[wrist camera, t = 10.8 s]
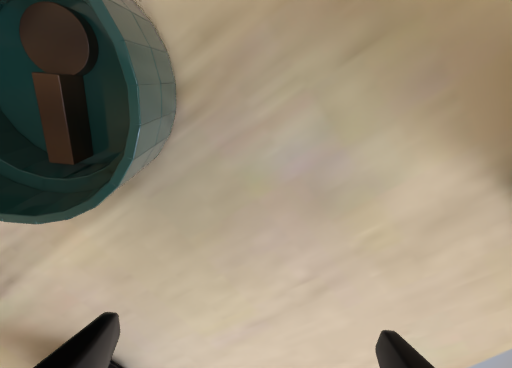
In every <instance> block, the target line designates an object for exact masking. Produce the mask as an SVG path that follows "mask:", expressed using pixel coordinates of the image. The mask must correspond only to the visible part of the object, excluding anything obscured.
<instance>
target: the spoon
mask: <svg viewBox="0 0 512 368" xmlns="http://www.w3.org/2000/svg"><path fill="white" fill-rule="evenodd" d="M19 34H20V39H21V43H22V45H23V48H24V50H25V52H26V53H27V55H28V56H29V58H30V59H31V60H32V61H33V62H34V64H35V65H37V66H38V67H39V68H40V69H42V70H43V71H45V72H32V78H33V83H34V88H35V93H36V98H37V103H38V108H39V113H40V118H41V123H42V128H43V133H44V138H45V143H46V147H47V152H48V157H49V162H50V163H59V164H70V165H75V164H77V163H79V162H81V161H83V160H85V159H87V158H89V157H91V156H93V148H92V140H91V133H90V126H89V118H88V111H87V104H86V96H85V89H84V82H83V75H85V74H87V73H88V72H90V71H91V70H92V68H93V67H94V66H95V64H96V61H97V58H98V43H97V39H96V36H95V34H94V31H93V30H92V28H91V26H90V25H89V23H88V22H87V21H86V20H85V19H84V18H83V17H82V16H81V15H80V14H79V13H77V12H76V11H74V10H72V9H70V8H68V7H65V6H62V5H60V4H57V3H54V2H49V1H42V2H37V3H34V4H32V5H30V6H29V7H28V8H27V9H26V10H25V11H24V13H23V14H22V17H21V20H20V25H19Z"/></svg>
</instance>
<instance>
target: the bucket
mask: <svg viewBox="0 0 512 368" xmlns="http://www.w3.org/2000/svg"><path fill="white" fill-rule="evenodd" d="M42 1H49V2H54V3H57V4H60V5H62V6H65V7H68V8H70V9H72V10H74V11H76V12H77V13H79V14H80V15H81V16H82V17H83V18H84V19H85V20H86V21H87V22H88V23H89V25H90V26H91V28H92V30H93V31H94V34H95V36H96V39H97V43H98V58H97V61H96V64H95V66H94V67H93V68H92V70H91V71H90V72H88V73H87V74H85V75H83V82H84V89H85V96H86V104H87V111H88V118H89V126H90V133H91V140H92V148H93V156H91V157H89V158H87V159H85V160H83V161H81V162H79V163H77V164H75V165H70V164H59V163H50V162H49V157H48V152H47V147H46V143H45V138H44V133H43V128H42V123H41V118H40V113H39V108H38V103H37V98H36V93H35V88H34V83H33V78H32V72H45V71H43V70H42V69H40V68H39V67H38V66H37V65H35V64H34V62H33V61H32V60H31V59H30V58H29V56H28V55H27V53H26V52H25V50H24V48H23V45H22V43H21V39H20V34H19V25H20V20H21V17H22V14H23V13H24V11H25V10H26V9H27V8H28V7H29V6H30V5H32V4H34V3H37V2H42ZM175 110H176V84H175V78H174V74H173V71H172V67H171V63H170V59H169V55H168V53H167V50H166V48H165V46H164V45H163V43H162V41H161V39H160V37H159V35H158V33H157V31H156V29H155V27H154V25H153V24H152V22H151V21H150V20H149V19H148V17H147V16H146V15H145V14H144V13H143V11H142V10H141V9H140V8H139V7H138V5H137V4H136V3H135V2H134V1H133V0H0V221H3V222H12V223H25V224H43V223H50V222H56V221H62V220H68V219H71V218H73V217H76V216H78V215H80V214H82V213H84V212H86V211H89V210H91V209H93V208H95V207H97V206H98V205H99V204H101V203H102V202H103V201H104V200H105V199H107V198H108V197H109V196H110V195H112V194H113V193H114V192H115V191H116V190H118V189H119V188H120V187H121V186H123V185H124V184H125V183H126V182H127V181H129V180H130V179H131V178H132V177H134V176H135V175H136V174H137V173H138V172H140V171H141V170H142V169H143V168H144V167H145V166H147V165H148V164H149V163H150V162H151V161H152V160H153V159H154V158H155V157H157V156H158V154H159V152H160V151H161V149H162V147H163V146H164V144H165V142H166V141H167V139H168V137H169V135H170V133H171V129H172V125H173V121H174V117H175V113H176V111H175Z"/></svg>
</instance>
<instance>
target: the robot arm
mask: <svg viewBox="0 0 512 368" xmlns="http://www.w3.org/2000/svg"><path fill="white" fill-rule="evenodd" d="M119 336H120V324H119V316H118V314H117V313H113V312H105V313H103V314H101V315H100V316H99V317H97V318H96V319H95V320H94V321H92V322H91V323H90V324H89V325H87V326H86V327H85V328H83V329H82V330H81V331H80V332H78V333H77V334H76V335H74V336H73V337H72V338H71V339H69V340H68V341H67V342H65V343H64V344H63V345H62V346H60V347H59V348H58V349H57V350H55V351H54V352H53V353H51V354H50V355H49V356H48V357H46V358H45V359H44V360H42V361H41V362H40V363H39V364H37V365H36V366H35V367H34V368H122V367H120V366H119V365H117V364H116V363H114V362H113V361H111V358H112V355H113V352H114V350H115V347H116V344H117V342H118V339H119ZM376 356H377V359H378V363H379V366H380V368H435V367H433V366H432V365H431V364H430V363H429V362H428V361H427V360H426V359H425V358H424V357H423V356H421V355H420V354H419V353H418V352H417V351H416V350H415V349H414V348H413V347H412V346H411V345H410V344H408V343H407V342H406V341H405V340H404V339H403V338H402V337H401V336H400V335H399V334H398V333H396V332H395V331H390V330H383V331H382V332H381V334H380V336H379V339H378V341H377V344H376Z"/></svg>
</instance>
